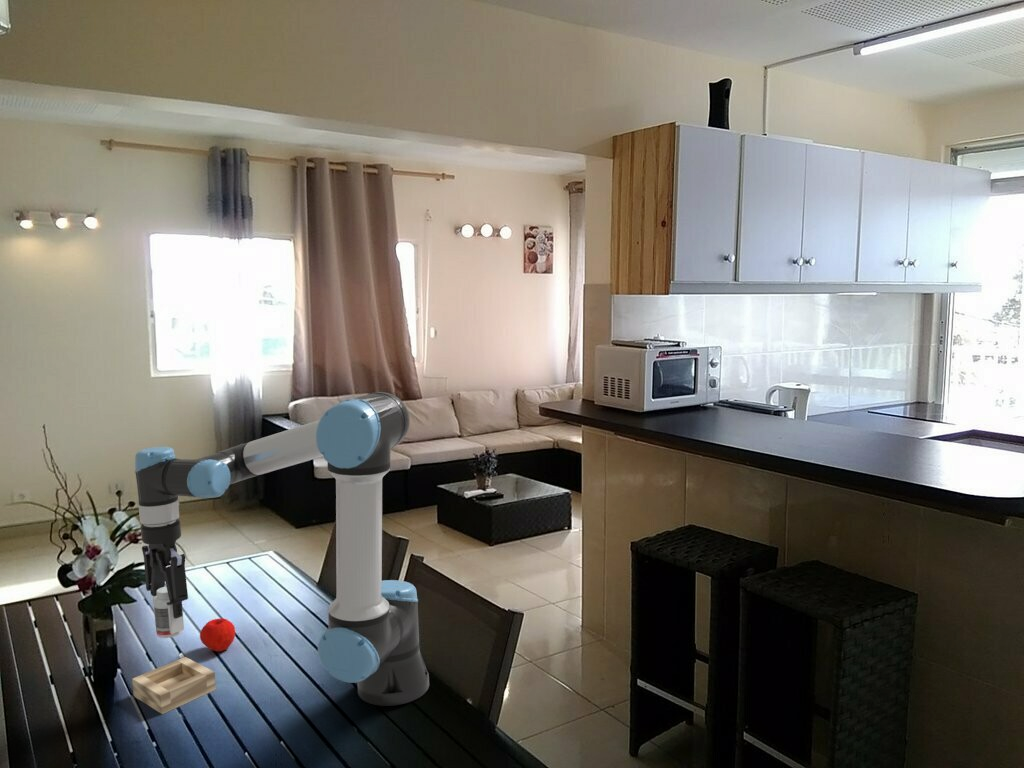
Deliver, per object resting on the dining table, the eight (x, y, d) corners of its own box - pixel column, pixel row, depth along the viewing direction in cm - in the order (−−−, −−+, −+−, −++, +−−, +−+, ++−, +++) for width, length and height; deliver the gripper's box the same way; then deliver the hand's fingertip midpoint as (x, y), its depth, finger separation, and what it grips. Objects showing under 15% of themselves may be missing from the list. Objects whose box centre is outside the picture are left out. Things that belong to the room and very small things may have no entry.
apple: (194, 654, 185) (191, 625, 184) (215, 640, 192) (213, 611, 192) (222, 658, 183) (220, 628, 182) (243, 643, 190) (241, 614, 189)
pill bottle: (186, 634, 165) (182, 590, 164) (158, 641, 162) (154, 596, 161) (181, 625, 170) (177, 582, 168) (154, 632, 167) (150, 588, 165)
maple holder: (216, 689, 168) (214, 672, 168) (162, 714, 159) (160, 695, 159) (186, 673, 176) (185, 656, 175) (133, 696, 167) (132, 678, 166)
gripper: (200, 524, 160) (209, 632, 163) (155, 510, 171) (164, 611, 174) (165, 534, 154) (175, 645, 157) (121, 518, 166) (131, 623, 168)
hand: (169, 627), depth 166 cm, fingers closed on pill bottle, 5 cm apart
